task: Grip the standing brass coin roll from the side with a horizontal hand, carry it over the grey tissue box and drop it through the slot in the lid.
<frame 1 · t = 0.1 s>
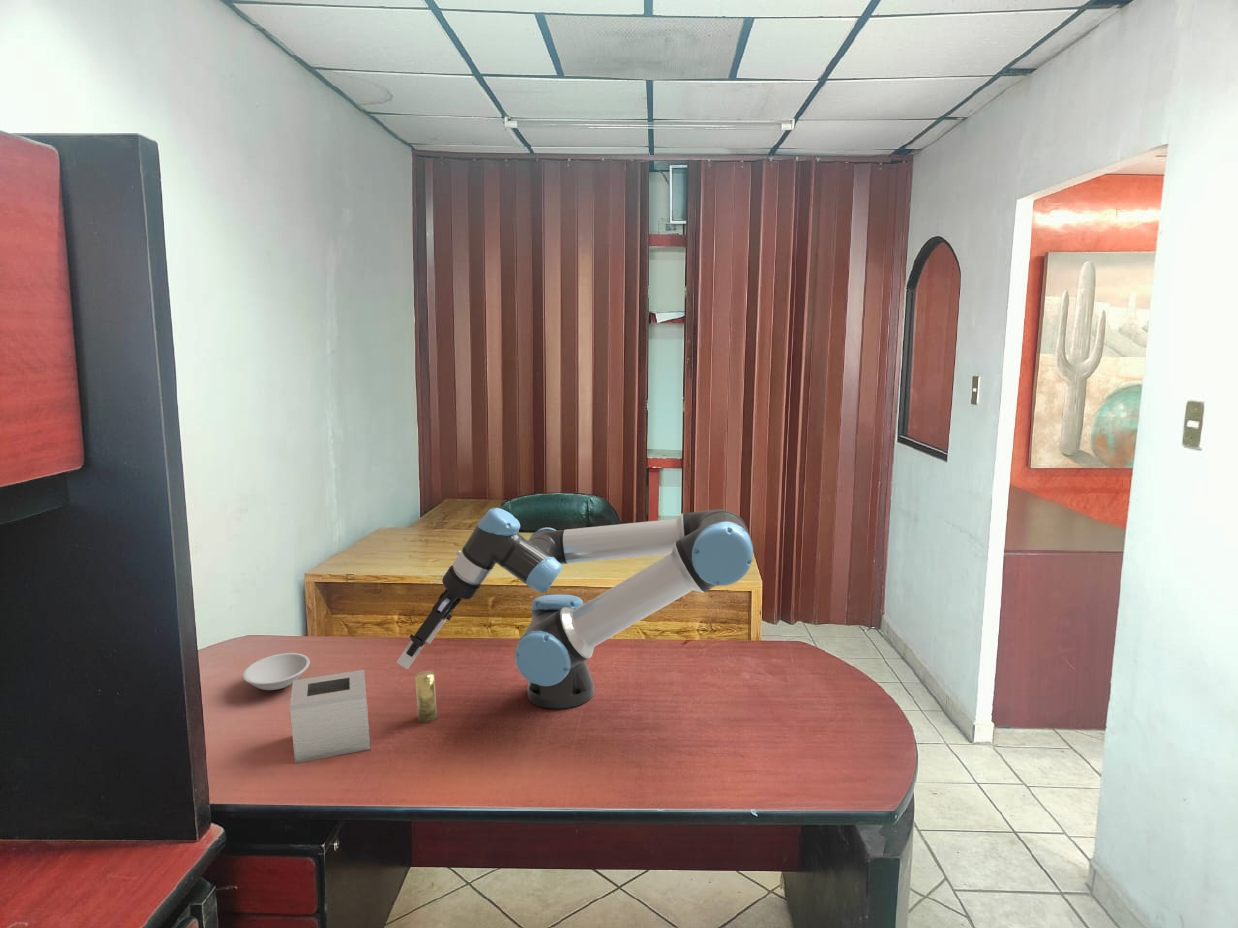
hand: (414, 652, 167), 15 cm above the table, fingers open, 13 cm apart
dish: (278, 687, 186), on the table
grey tissue box: (333, 741, 160), on the table
coin roll: (427, 718, 169), on the table
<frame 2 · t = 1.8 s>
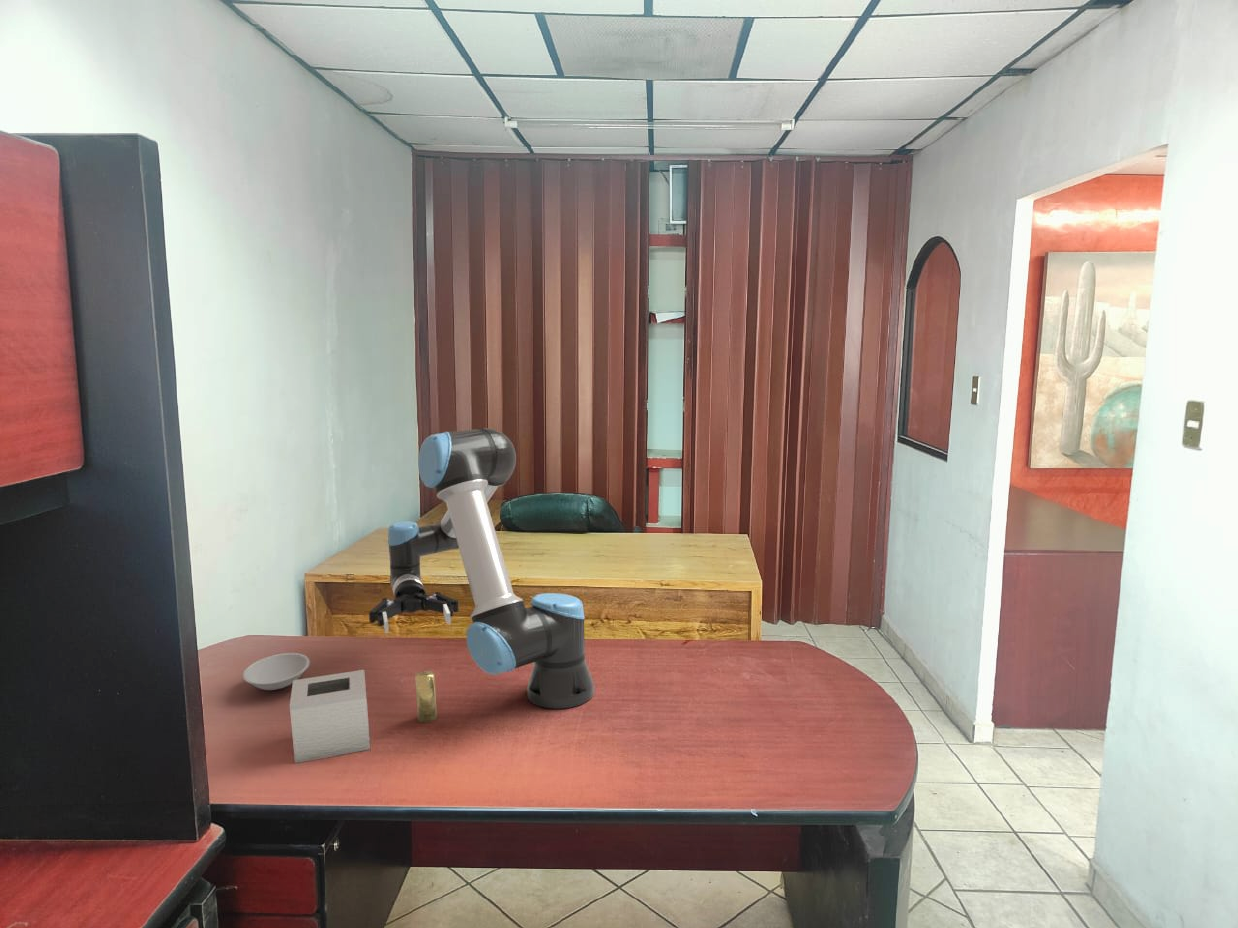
hand: (418, 623, 175), 18 cm above the table, fingers open, 13 cm apart
nothing on the table moved.
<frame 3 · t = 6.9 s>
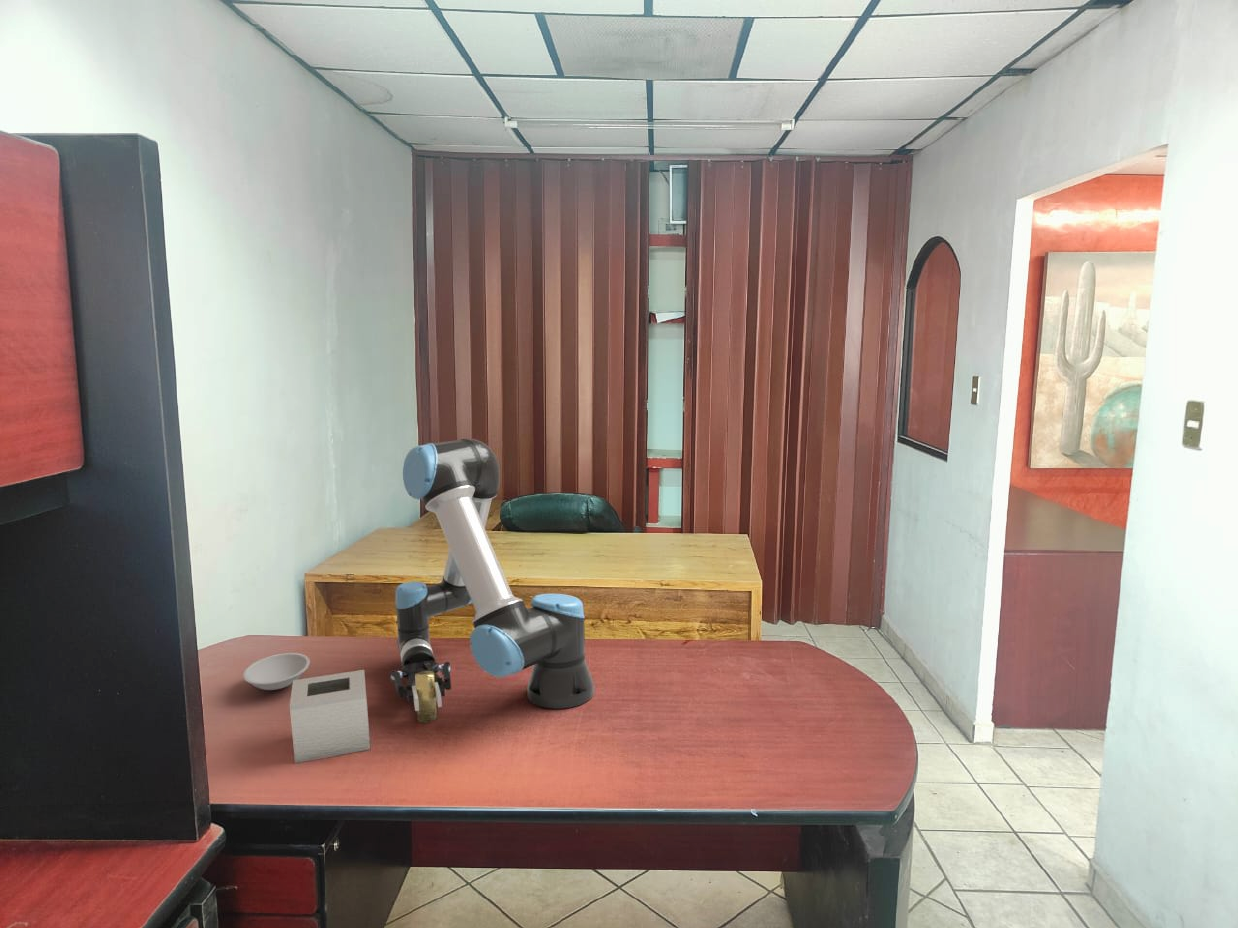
hand: (428, 702, 163), 6 cm above the table, fingers closed on coin roll, 4 cm apart
coin roll: (427, 718, 169), on the table, touching gripper
everything else where it was.
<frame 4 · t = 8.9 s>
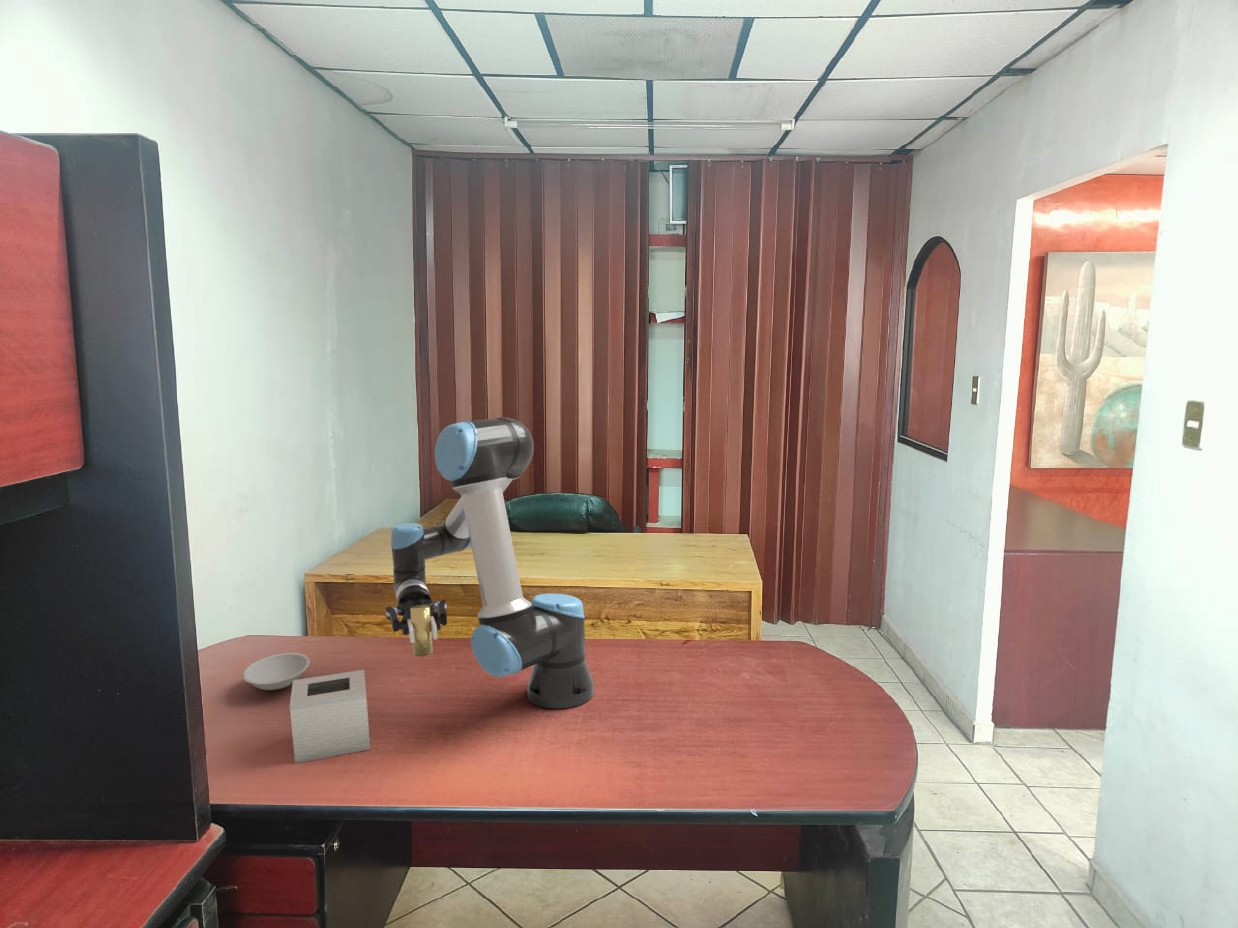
hand: (423, 634, 161), 21 cm above the table, fingers closed on coin roll, 4 cm apart
coin roll: (423, 652, 167), point 15 cm above the table, touching gripper
everything else where it was.
when the fingers open (19 cm above the table, at t = 11.4 s): coin roll drops 13 cm, resting in grey tissue box.
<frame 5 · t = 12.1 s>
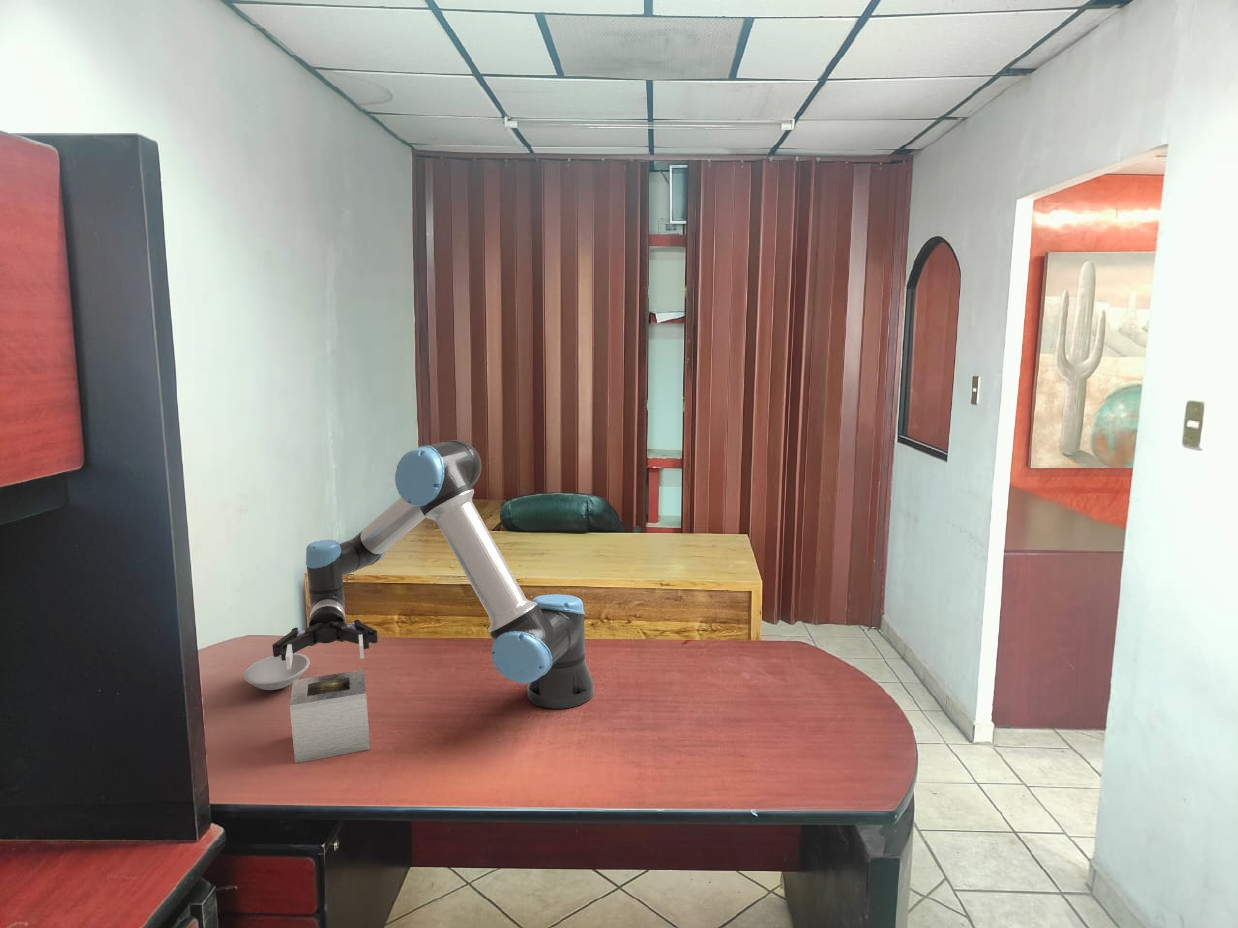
hand: (325, 657, 154), 20 cm above the table, fingers open, 13 cm apart
coin roll: (332, 741, 160), resting in grey tissue box
everything else where it was.
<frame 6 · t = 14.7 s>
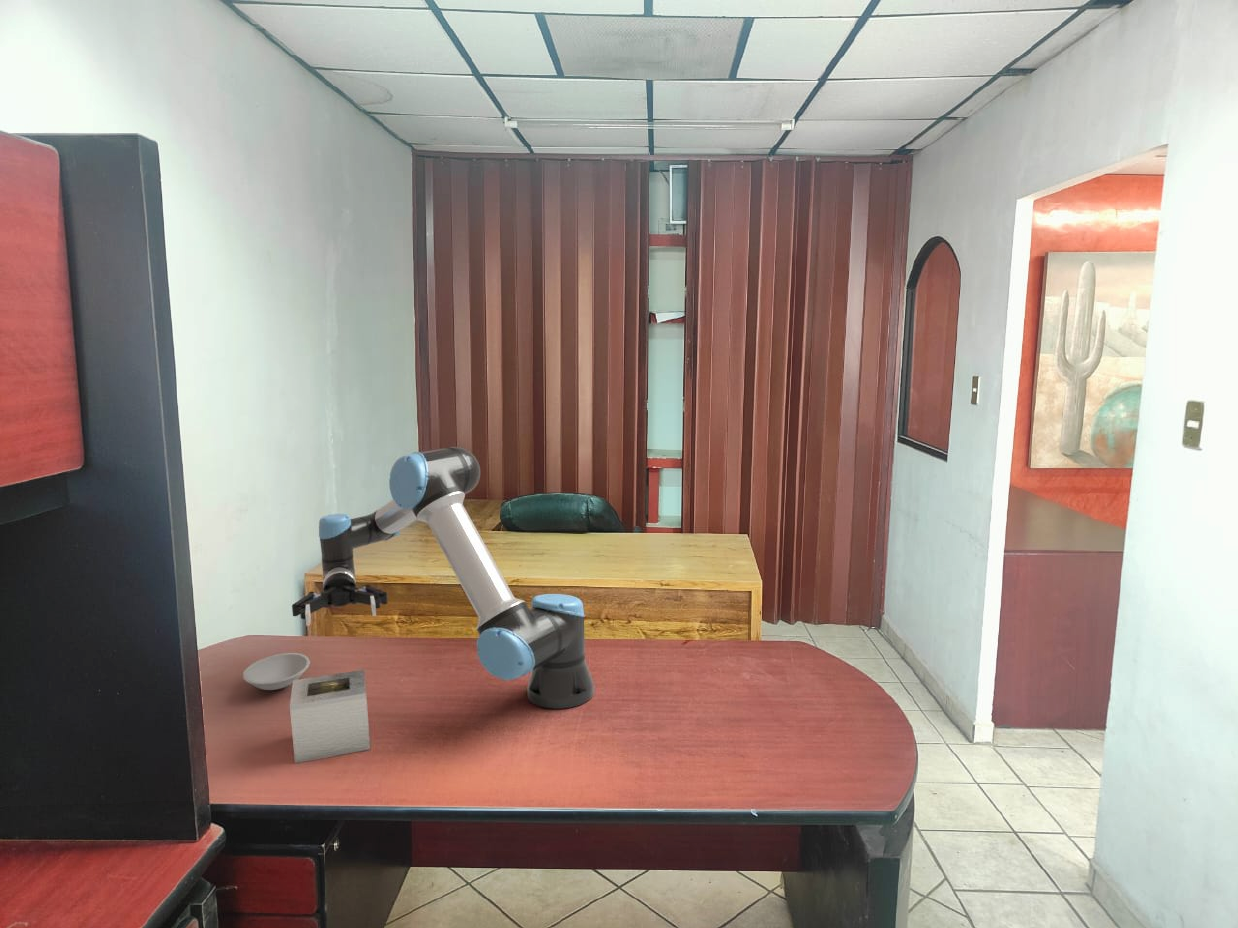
hand: (341, 614, 169), 22 cm above the table, fingers open, 13 cm apart
nothing on the table moved.
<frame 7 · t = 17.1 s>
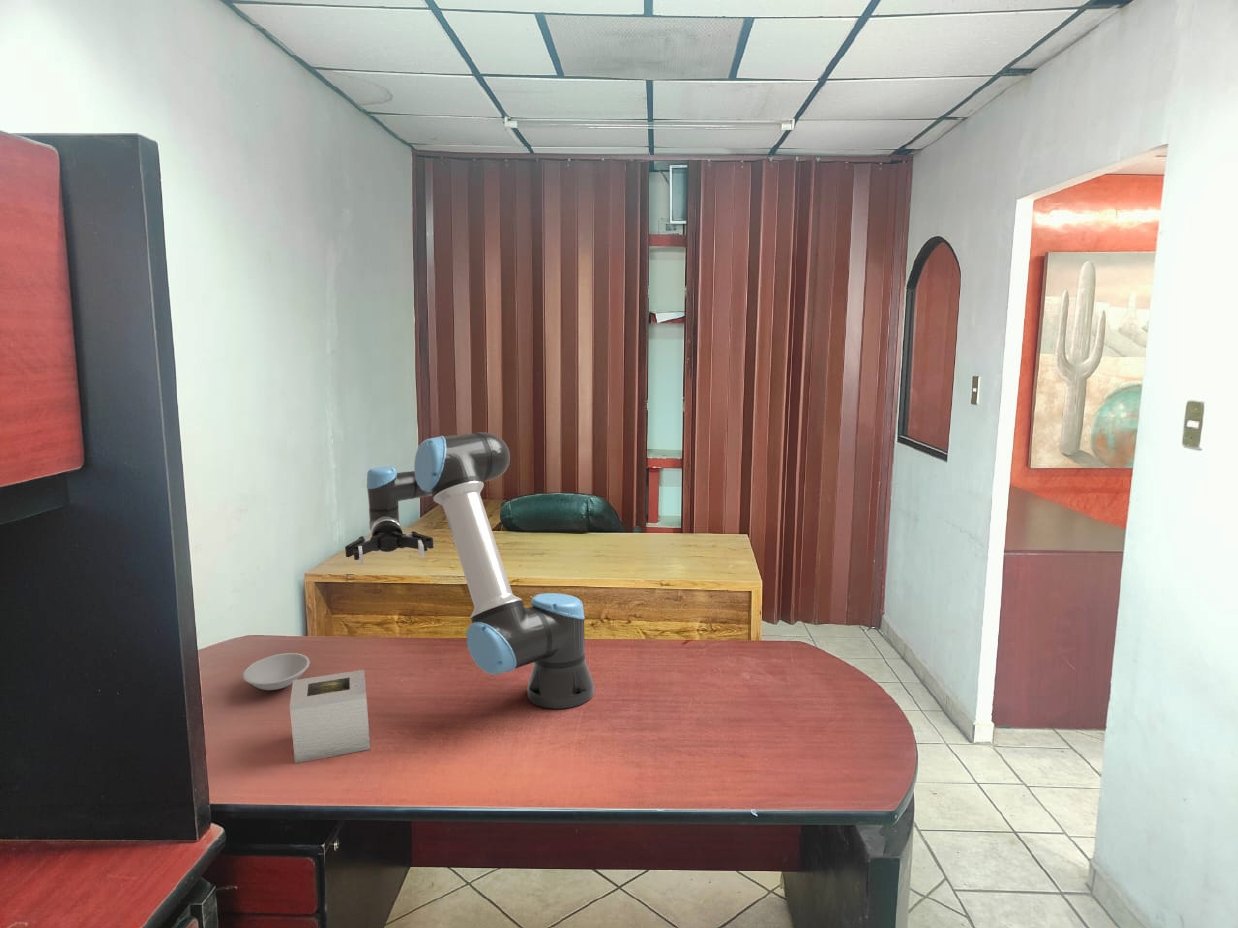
hand: (392, 555, 180), 32 cm above the table, fingers open, 13 cm apart
nothing on the table moved.
at the end: coin roll inside the target area on the grey tissue box (0.2 cm from its centre), point 0.0 cm above the grey tissue box's base; the gripper is holding nothing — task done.
